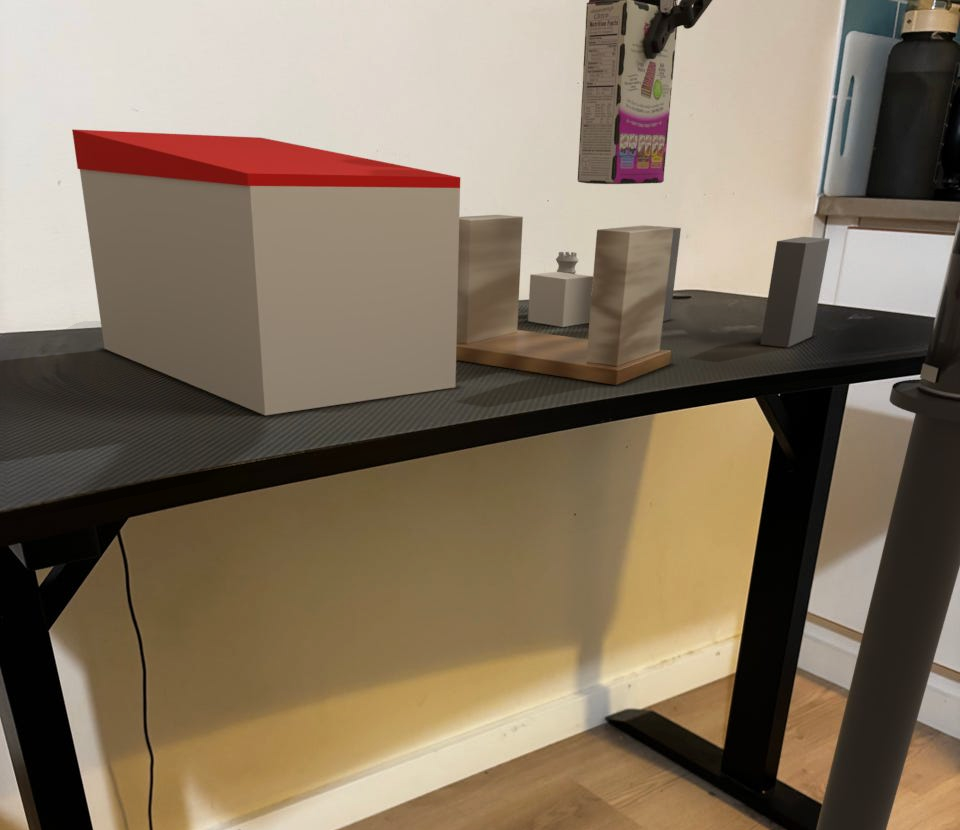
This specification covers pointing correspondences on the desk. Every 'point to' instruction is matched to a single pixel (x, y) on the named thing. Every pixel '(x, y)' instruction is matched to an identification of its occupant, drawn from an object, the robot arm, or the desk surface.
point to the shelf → (613, 316)
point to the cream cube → (560, 298)
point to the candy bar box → (623, 96)
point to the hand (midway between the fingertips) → (622, 51)
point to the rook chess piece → (567, 262)
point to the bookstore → (272, 267)
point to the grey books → (780, 288)
